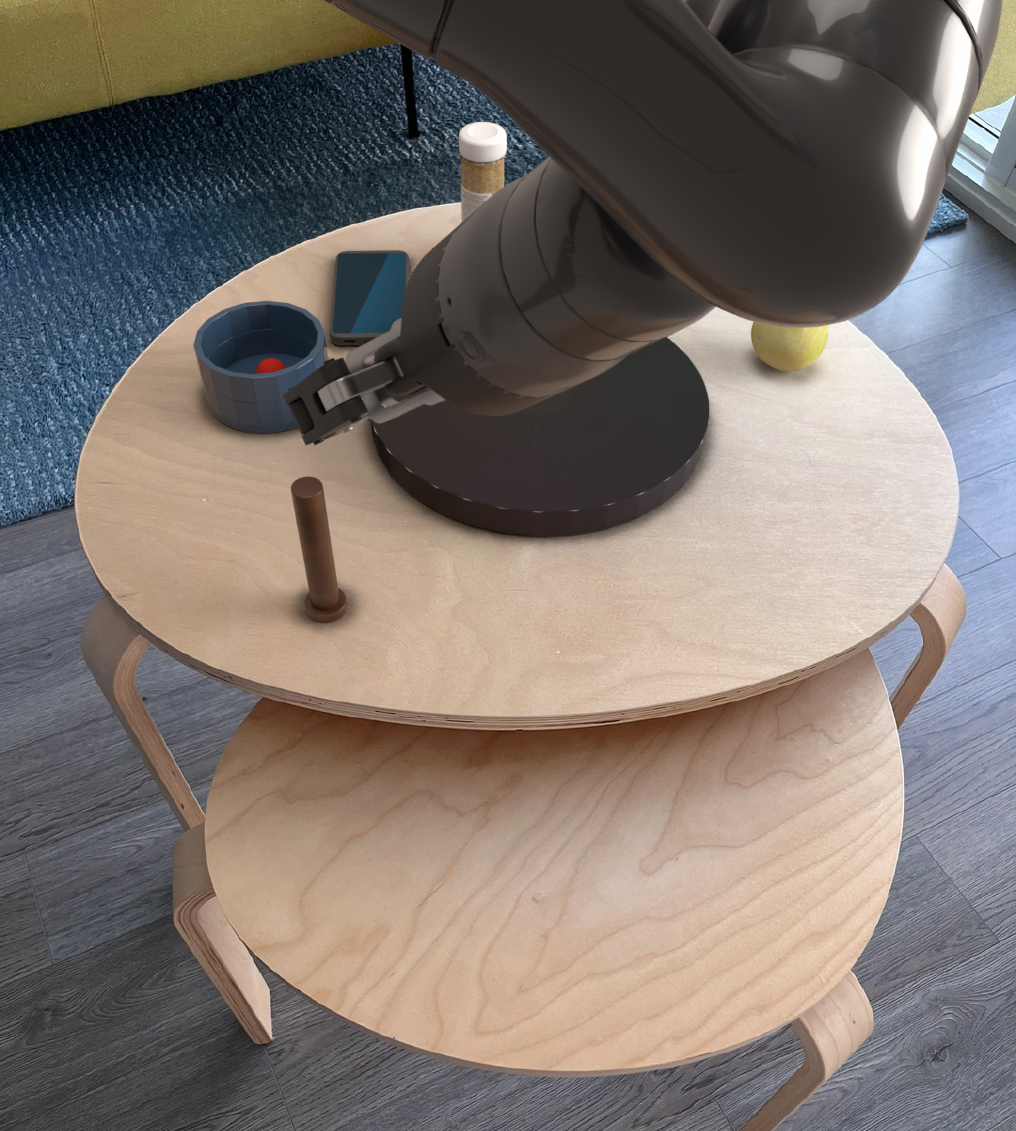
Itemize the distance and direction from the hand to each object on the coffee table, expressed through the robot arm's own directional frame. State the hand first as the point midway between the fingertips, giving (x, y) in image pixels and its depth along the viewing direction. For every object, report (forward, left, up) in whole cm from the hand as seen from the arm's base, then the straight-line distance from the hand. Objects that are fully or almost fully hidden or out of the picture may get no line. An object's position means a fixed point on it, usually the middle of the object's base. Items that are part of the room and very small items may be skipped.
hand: (390, 387), depth 58 cm
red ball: (+25, +30, -26) cm, 47 cm away
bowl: (+24, +31, -29) cm, 49 cm away
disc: (+33, +8, -29) cm, 45 cm away
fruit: (+52, -8, -29) cm, 60 cm away
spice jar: (+53, +25, -29) cm, 66 cm away
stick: (+5, +11, -29) cm, 31 cm away
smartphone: (+41, +31, -29) cm, 59 cm away
